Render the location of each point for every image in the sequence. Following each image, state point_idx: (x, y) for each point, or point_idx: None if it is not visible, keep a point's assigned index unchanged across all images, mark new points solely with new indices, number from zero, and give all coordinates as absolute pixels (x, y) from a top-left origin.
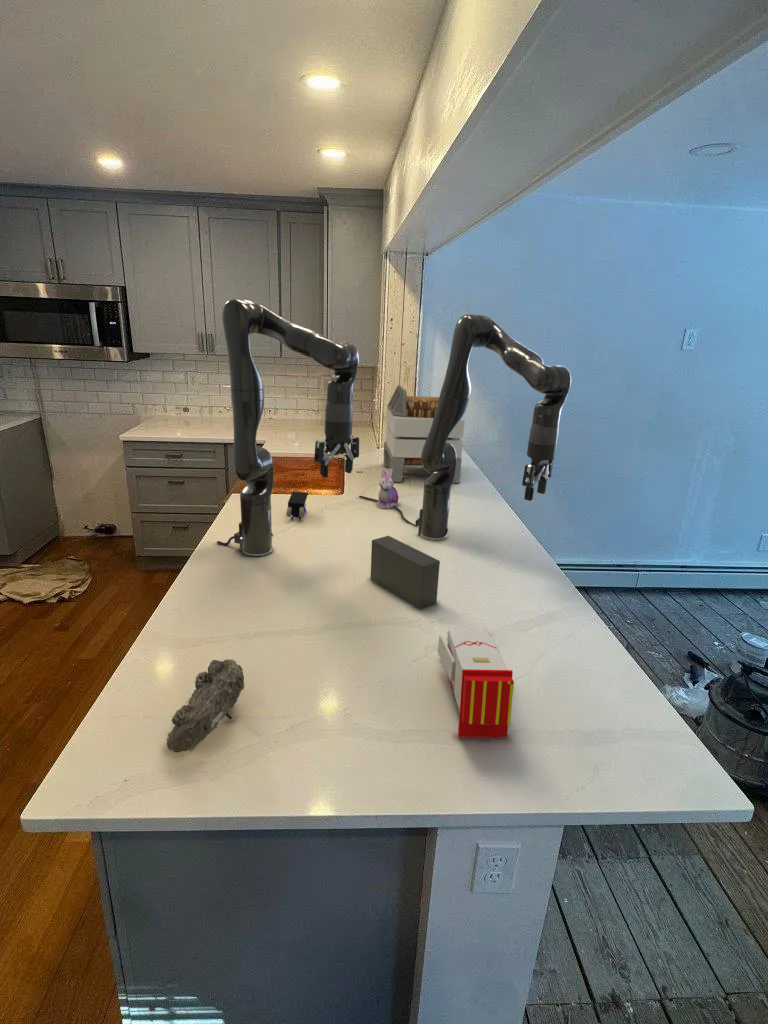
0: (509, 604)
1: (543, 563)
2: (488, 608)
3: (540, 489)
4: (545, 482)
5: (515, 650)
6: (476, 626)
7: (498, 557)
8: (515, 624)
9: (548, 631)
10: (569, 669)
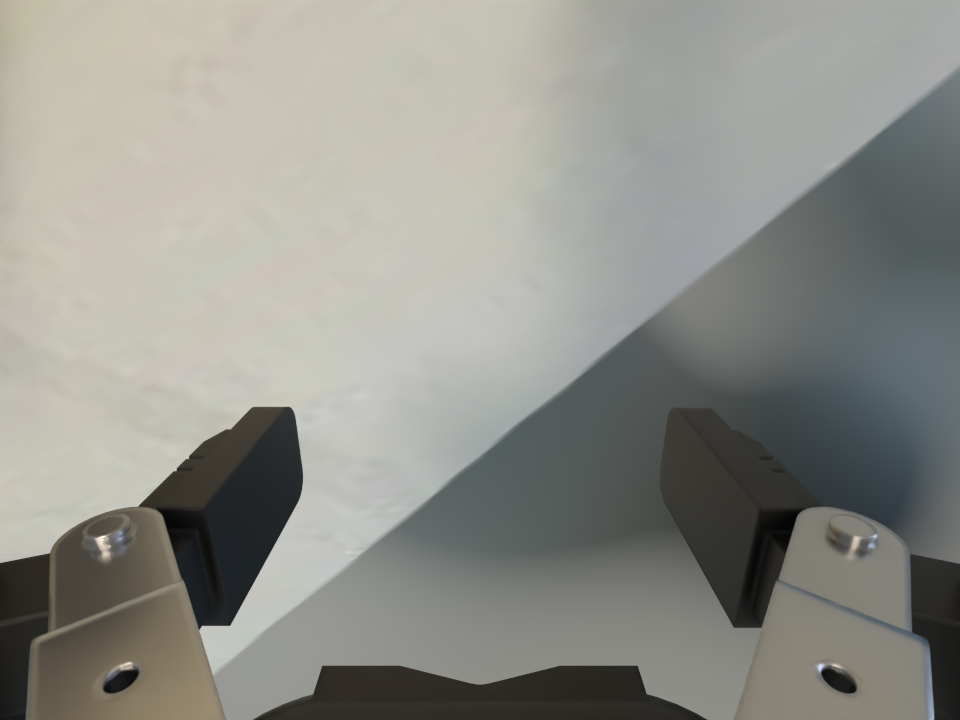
0: (244, 314)
1: (704, 255)
2: (151, 269)
3: (685, 469)
4: (730, 615)
5: (19, 454)
6: (12, 300)
7: (636, 40)
8: (142, 391)
9: None
10: None
